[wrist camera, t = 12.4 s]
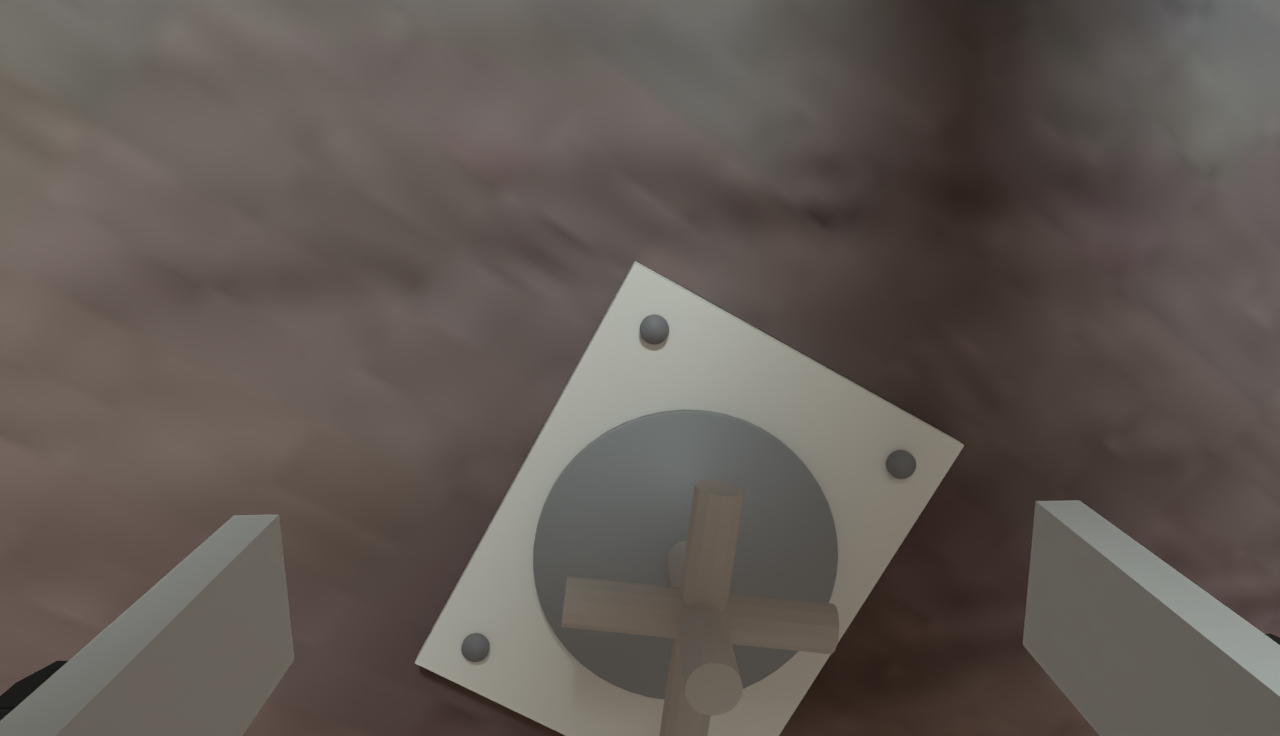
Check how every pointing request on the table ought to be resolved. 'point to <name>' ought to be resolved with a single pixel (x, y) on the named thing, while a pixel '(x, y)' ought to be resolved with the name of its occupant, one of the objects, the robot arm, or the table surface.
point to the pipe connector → (702, 614)
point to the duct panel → (682, 513)
